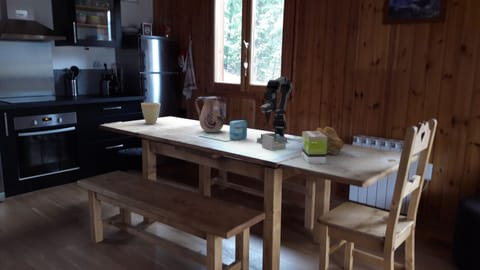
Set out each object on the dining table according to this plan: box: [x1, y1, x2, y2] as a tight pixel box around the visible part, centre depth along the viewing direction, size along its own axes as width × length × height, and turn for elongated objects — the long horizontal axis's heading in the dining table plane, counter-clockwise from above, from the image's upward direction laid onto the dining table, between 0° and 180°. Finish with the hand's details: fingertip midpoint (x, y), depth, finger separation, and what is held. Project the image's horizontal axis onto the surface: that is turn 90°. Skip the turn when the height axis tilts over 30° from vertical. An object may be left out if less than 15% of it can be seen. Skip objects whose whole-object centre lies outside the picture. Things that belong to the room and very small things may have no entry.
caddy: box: [260, 132, 280, 140], centre depth 247 cm, size 13×4×5 cm, turn 126°
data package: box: [228, 119, 248, 141], centre depth 255 cm, size 12×4×12 cm, turn 133°
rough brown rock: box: [315, 126, 344, 156], centre depth 223 cm, size 23×17×15 cm
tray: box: [256, 136, 288, 145], centre depth 248 cm, size 18×10×3 cm, turn 125°
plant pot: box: [141, 102, 161, 125], centre depth 304 cm, size 15×15×16 cm
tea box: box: [301, 130, 327, 164], centre depth 206 cm, size 15×10×15 cm, turn 5°
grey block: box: [261, 133, 287, 152], centre depth 232 cm, size 12×9×8 cm
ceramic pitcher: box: [194, 96, 225, 133], centre depth 277 cm, size 18×21×25 cm
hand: (272, 123), depth 248 cm, fingers open, 9 cm apart
